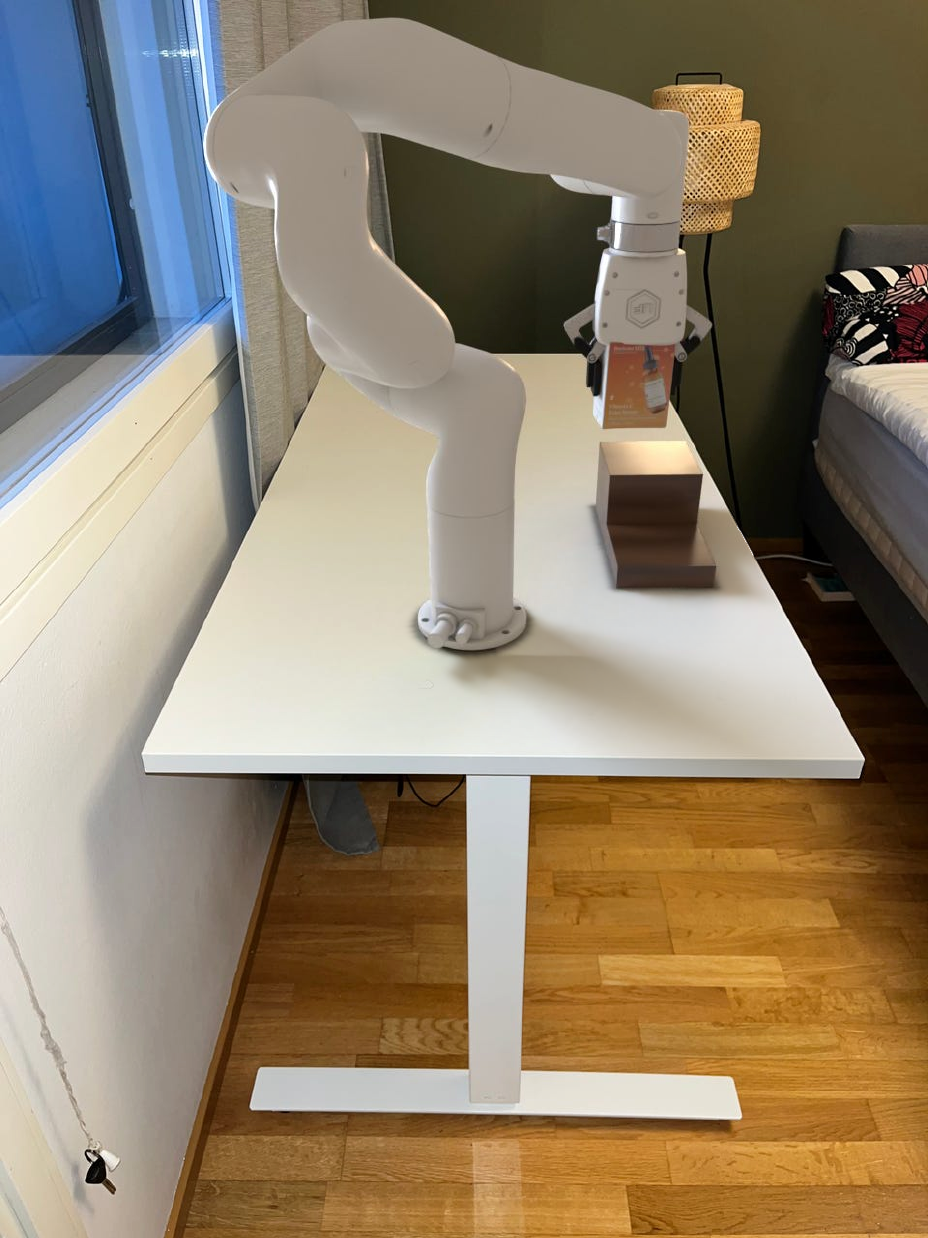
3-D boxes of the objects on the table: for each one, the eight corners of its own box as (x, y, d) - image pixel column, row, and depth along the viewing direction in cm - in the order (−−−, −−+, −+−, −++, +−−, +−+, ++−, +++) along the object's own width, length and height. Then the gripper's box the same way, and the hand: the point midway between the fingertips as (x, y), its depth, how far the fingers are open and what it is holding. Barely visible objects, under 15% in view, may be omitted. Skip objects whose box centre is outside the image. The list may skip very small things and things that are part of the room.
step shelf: (713, 587, 117) (723, 513, 112) (616, 588, 117) (621, 514, 112) (678, 506, 137) (685, 440, 132) (595, 507, 138) (599, 441, 132)
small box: (601, 431, 113) (607, 341, 107) (592, 415, 117) (597, 329, 112) (667, 428, 113) (677, 339, 108) (655, 412, 118) (664, 327, 112)
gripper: (568, 244, 101) (562, 403, 110) (731, 242, 101) (712, 401, 110) (562, 232, 107) (556, 383, 116) (715, 230, 107) (698, 381, 116)
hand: (632, 391), depth 113 cm, fingers closed on small box, 8 cm apart
